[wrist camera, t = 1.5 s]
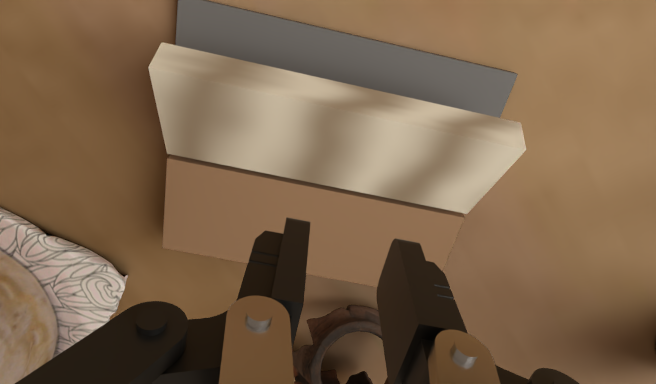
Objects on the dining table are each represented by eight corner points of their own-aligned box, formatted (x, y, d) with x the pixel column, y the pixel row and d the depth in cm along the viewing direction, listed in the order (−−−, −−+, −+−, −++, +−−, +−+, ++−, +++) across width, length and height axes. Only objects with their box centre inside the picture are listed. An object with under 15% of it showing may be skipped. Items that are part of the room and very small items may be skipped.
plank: (520, 122, 24) (526, 149, 23) (465, 189, 30) (467, 213, 28) (161, 42, 22) (148, 67, 21) (177, 130, 28) (167, 153, 27)
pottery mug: (259, 324, 37) (273, 360, 29) (347, 266, 40) (382, 284, 32) (326, 431, 39) (356, 492, 31) (406, 369, 41) (454, 411, 33)
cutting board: (514, 72, 27) (531, 81, 25) (428, 281, 34) (435, 303, 32) (181, -6, 25) (166, -5, 23) (167, 233, 32) (154, 252, 30)
